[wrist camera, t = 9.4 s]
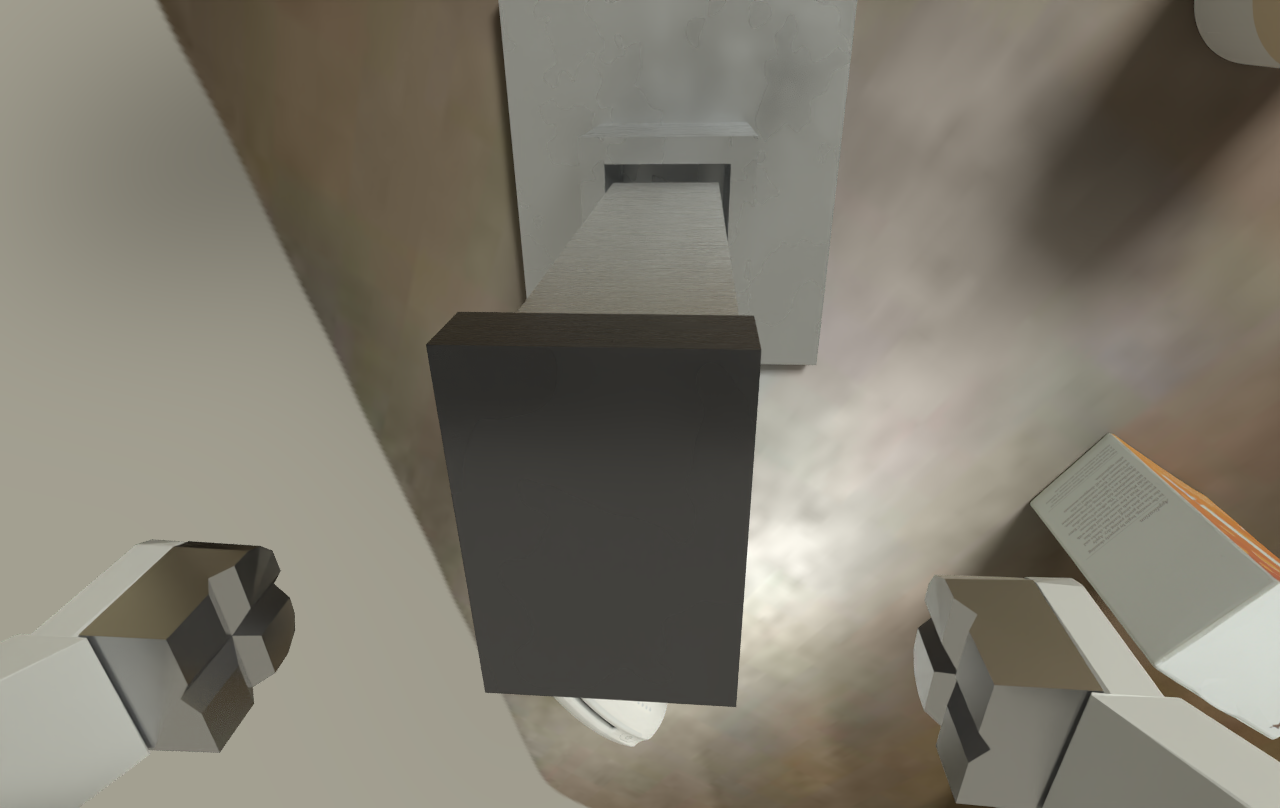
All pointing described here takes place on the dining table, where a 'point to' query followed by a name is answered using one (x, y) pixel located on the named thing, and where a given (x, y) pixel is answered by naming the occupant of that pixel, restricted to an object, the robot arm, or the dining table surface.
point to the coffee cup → (1241, 30)
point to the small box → (1174, 577)
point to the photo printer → (617, 717)
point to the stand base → (688, 131)
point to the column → (609, 459)
